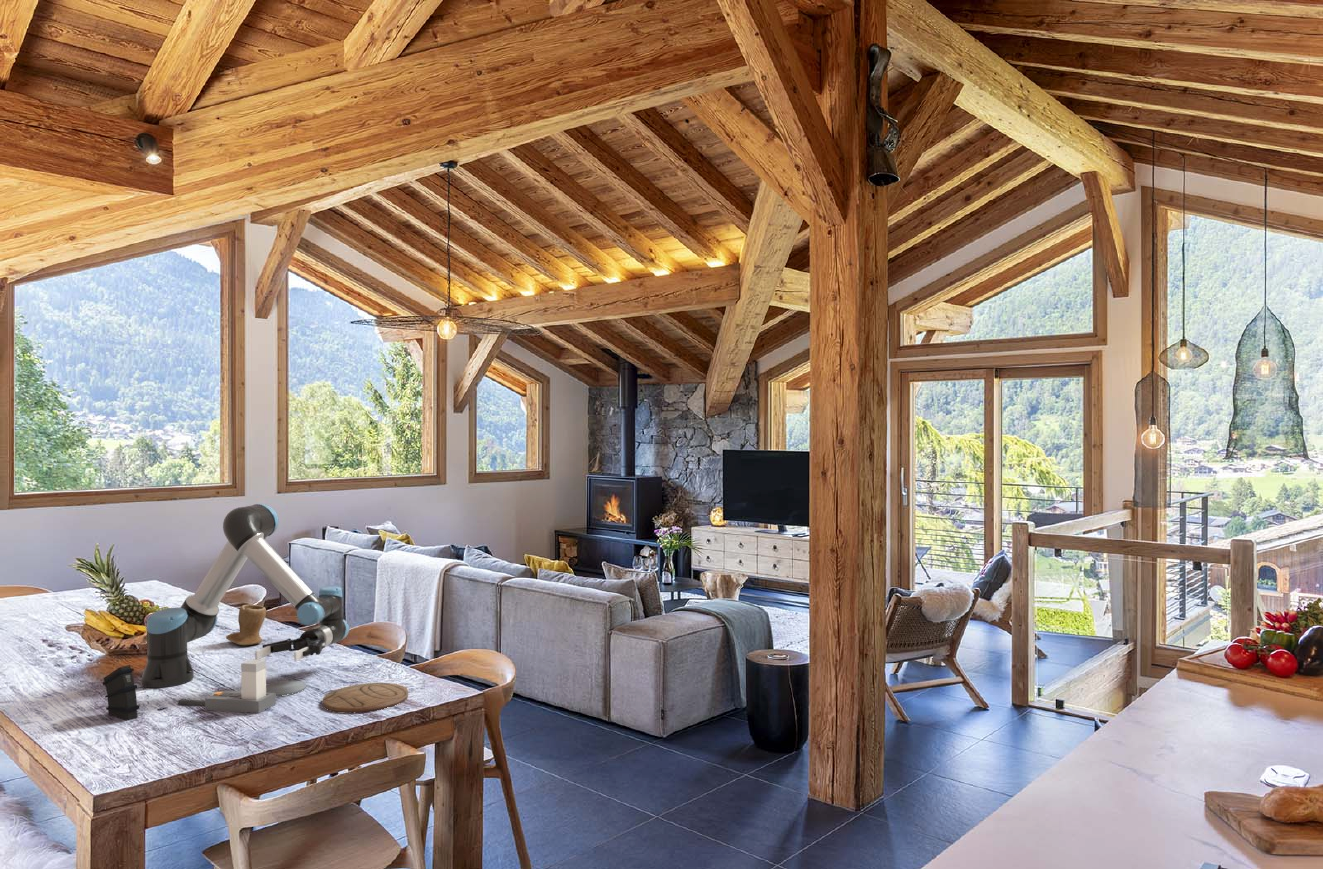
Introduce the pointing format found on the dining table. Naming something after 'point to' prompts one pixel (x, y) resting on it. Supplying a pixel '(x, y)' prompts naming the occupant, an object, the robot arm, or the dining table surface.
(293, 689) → the mat
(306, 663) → the dining table surface
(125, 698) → the magazine
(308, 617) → the robot arm
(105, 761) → the dining table surface
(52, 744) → the dining table surface
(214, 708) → the power strip
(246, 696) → the block
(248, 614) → the brown boot
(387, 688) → the trivet
